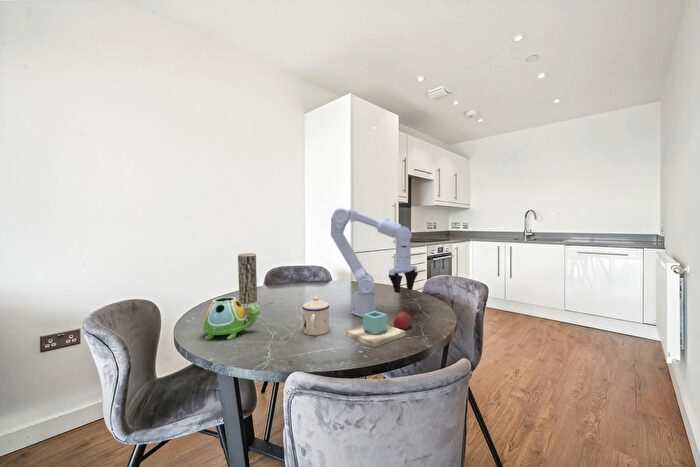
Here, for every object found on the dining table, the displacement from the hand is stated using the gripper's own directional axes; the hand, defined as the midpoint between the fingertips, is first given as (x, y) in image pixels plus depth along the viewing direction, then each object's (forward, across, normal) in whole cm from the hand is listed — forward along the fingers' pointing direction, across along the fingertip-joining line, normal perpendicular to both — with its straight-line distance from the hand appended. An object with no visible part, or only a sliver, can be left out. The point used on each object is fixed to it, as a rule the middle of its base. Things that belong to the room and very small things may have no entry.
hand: (403, 291), depth 118 cm
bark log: (+10, -47, +41) cm, 63 cm away
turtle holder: (+10, -59, +26) cm, 65 cm away
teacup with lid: (+10, -37, +7) cm, 39 cm away
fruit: (+10, -11, -10) cm, 18 cm away
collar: (+8, -24, -8) cm, 27 cm away
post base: (+9, -24, -8) cm, 27 cm away
